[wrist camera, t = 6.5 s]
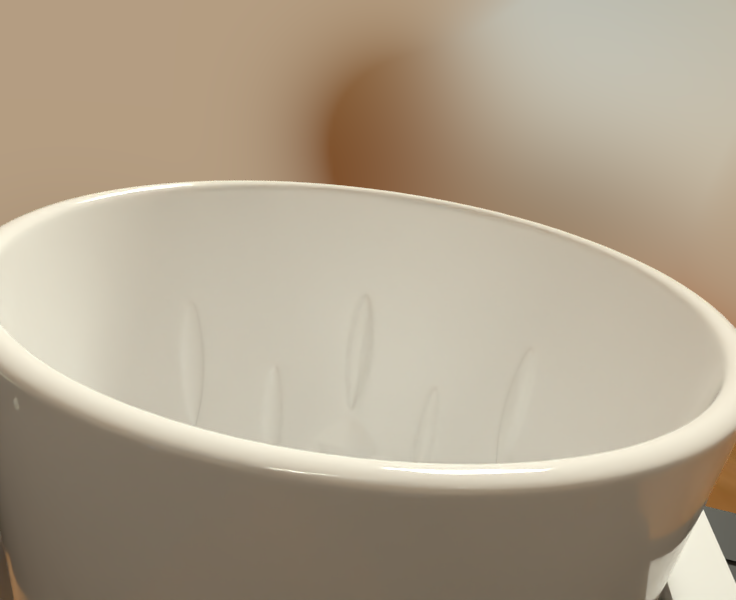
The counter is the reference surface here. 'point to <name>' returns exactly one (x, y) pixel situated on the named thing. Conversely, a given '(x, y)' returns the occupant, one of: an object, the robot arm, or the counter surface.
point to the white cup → (345, 401)
